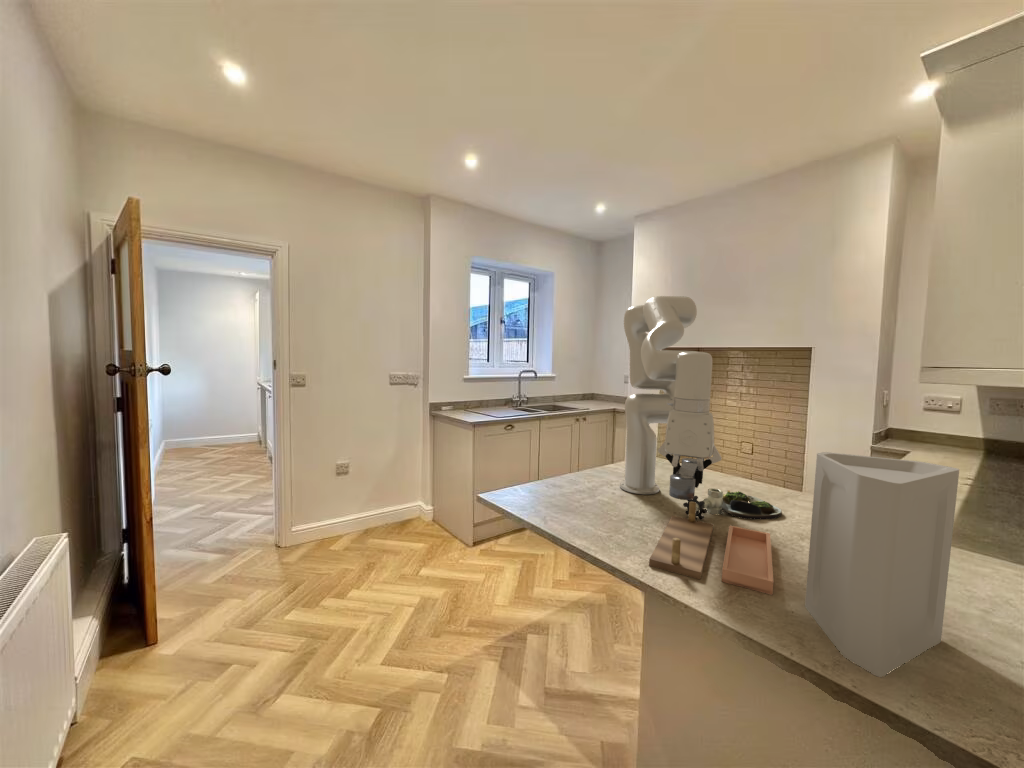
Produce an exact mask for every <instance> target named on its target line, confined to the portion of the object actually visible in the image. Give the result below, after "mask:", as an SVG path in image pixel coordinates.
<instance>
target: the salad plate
mask: <svg viewBox="0 0 1024 768" xmlns="http://www.w3.org/2000/svg"><path fill="white" fill-rule="evenodd" d="M722 499H723V505H722V507H721V508H722V510H723V511H722V512H724V513H726V514H727V515H729V514H730V515H729V516H732V515H733V516H732V517H735V516H736V517H735V518H739V517H740V519H744V518H745V520H775V519H778V518H779V517H781V515H782V513H783V512H782V509H781V508H779V507H778V506H775V505H773V504H771V503H770V502H767V501H766V500H762V499H761V498H758V497H756V496H752V495H747V494H745V493H744V492H742V491H739V490H738V491H730V490H727V492H726V493H723V497H722ZM748 501H749V502H751V503H748Z"/></svg>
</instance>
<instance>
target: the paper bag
mask: <svg viewBox="0 0 1024 768" xmlns="http://www.w3.org/2000/svg"><path fill="white" fill-rule="evenodd" d="M815 461H816V462H815V474H814V488H813V500H812V511H811V524H810V536H809V537H810V538H809V551H808V564H807V576H806V589H805V600H804V601H805V602H804V607H806V608H805V609H806V611H807V612H808V611H809V612H808V613H809V614H810V615H811V617H812V618H813V619H814V621H815V622H816V624H817V625H818V626H819V627H820V629H821V630H822V631H823V632H824V634H825V635H826V636H827V637H828V639H829V640H830V642H831V643H832V644H833V645H834V647H835V646H836V647H835V648H836V649H837V651H838V650H839V651H840V652H839V651H838V652H839V654H841V656H842V655H843V656H842V657H843V658H845V659H846V658H847V659H846V660H848V659H849V660H850V661H849V660H848V661H849V662H851V661H852V662H851V663H853V662H854V663H855V664H854V663H853V664H854V665H856V664H857V665H856V666H858V665H859V666H861V667H862V668H861V667H860V668H861V669H863V668H864V669H866V670H867V671H866V670H865V671H866V672H868V671H869V672H868V673H870V672H871V673H870V674H872V675H874V676H875V677H879V678H883V677H882V676H884V677H886V676H887V675H886V674H887V673H889V672H890V671H892V670H893V669H895V668H897V667H899V666H901V665H902V664H904V663H906V662H907V663H909V662H910V661H909V660H911V659H912V660H914V659H915V657H916V656H917V657H919V656H920V655H919V654H921V653H922V652H924V651H925V652H927V651H928V650H927V649H929V648H930V649H932V648H934V647H936V646H937V645H939V644H940V643H941V642H942V636H943V634H942V633H943V626H944V616H945V608H946V607H945V606H946V599H947V588H948V580H949V579H948V578H949V572H950V571H949V570H950V561H951V560H950V559H951V552H952V551H951V550H952V543H953V542H952V541H953V534H954V533H953V532H954V522H955V515H956V513H955V512H956V504H957V495H958V488H959V487H958V485H959V478H960V476H959V475H960V469H959V468H957V467H952V466H946V465H941V464H936V463H931V462H926V461H917V460H908V459H899V458H898V459H897V458H887V457H880V456H879V457H878V456H871V455H870V456H869V455H859V454H857V455H856V454H847V453H838V452H830V451H828V452H827V451H825V452H824V451H822V452H817V453H816V460H815ZM933 646H934V647H933ZM931 647H932V648H931ZM930 649H929V650H930ZM926 650H927V651H926ZM925 652H924V653H925ZM922 654H923V653H922ZM922 654H921V655H922ZM918 655H919V656H918ZM917 657H916V658H917ZM913 658H914V659H913ZM912 660H911V661H912ZM908 661H909V662H908ZM907 663H906V664H907ZM904 665H905V664H904ZM859 666H858V667H859ZM902 666H903V665H902ZM902 666H901V667H902ZM899 668H900V667H899ZM864 669H863V670H864ZM897 669H898V668H897ZM889 674H890V673H889ZM885 675H886V676H885Z"/></svg>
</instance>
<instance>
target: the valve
mask: <svg viewBox="0 0 1024 768" xmlns="http://www.w3.org/2000/svg"><path fill="white" fill-rule="evenodd" d="M723 492H724V491H723V490H722V489H720V488H714V487H711V488H708V489H707V497H706V498H703V499H702V500H701V501H699V500H698V499H699V496H698V495H694V499H692V500H686V502H683V503H682V504H683V505H682V506H683V507H685V508H687V510H685V514H686V515H688V516H689V502H695V503H696V514H695V520H696V521H697V519H699V521H701V520H704V519H705V516H704V515H703V514H707V513H709V514H710V513H711V515H714V514H717V515H716V516H719V515H718V514H720V515H722V514H721V513H723V511H722V508H721V507H722V505H723V499H722V497H723V494H724V493H723ZM707 511H708V512H707Z"/></svg>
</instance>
